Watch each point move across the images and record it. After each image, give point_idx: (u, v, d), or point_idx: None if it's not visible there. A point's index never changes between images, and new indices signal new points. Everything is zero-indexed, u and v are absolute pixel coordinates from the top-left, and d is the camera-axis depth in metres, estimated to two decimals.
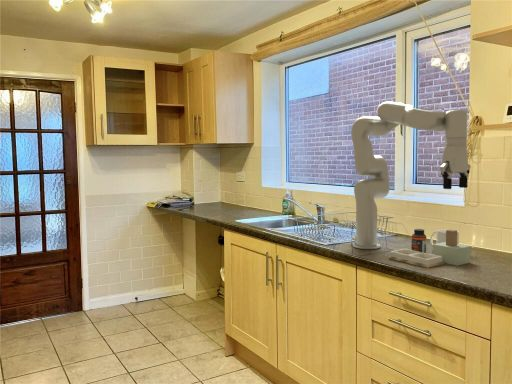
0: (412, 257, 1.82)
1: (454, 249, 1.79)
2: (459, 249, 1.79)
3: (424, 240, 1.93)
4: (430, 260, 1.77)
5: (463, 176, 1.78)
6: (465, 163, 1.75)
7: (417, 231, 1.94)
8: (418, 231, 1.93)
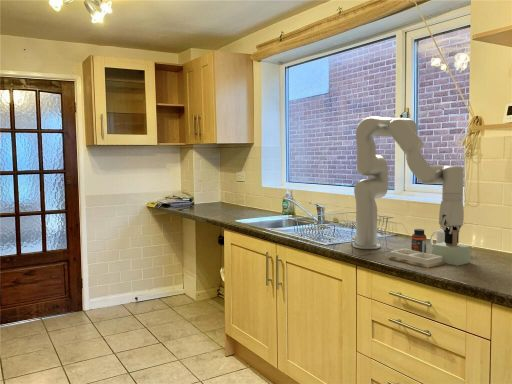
0: (412, 257, 1.82)
1: (454, 249, 1.79)
2: (459, 249, 1.79)
3: (424, 240, 1.93)
4: (430, 260, 1.77)
5: None
6: (461, 216, 1.83)
7: (417, 231, 1.94)
8: (418, 231, 1.93)
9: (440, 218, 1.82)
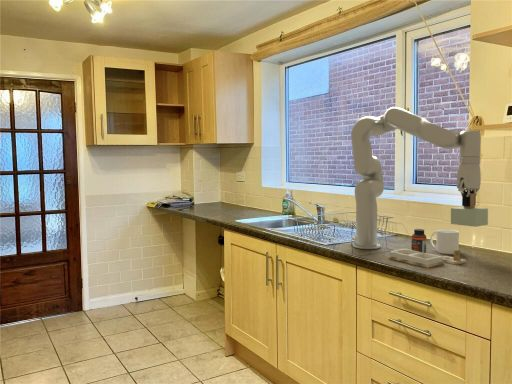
0: (412, 257, 1.82)
1: (472, 211, 1.83)
2: (477, 210, 1.83)
3: (424, 240, 1.93)
4: (430, 260, 1.77)
5: None
6: (478, 179, 1.88)
7: (417, 231, 1.94)
8: (418, 231, 1.93)
9: (458, 181, 1.87)
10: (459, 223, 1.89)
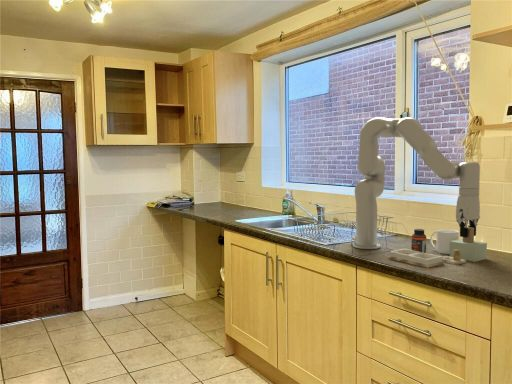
0: (412, 257, 1.82)
1: (471, 246, 1.85)
2: (476, 246, 1.84)
3: (424, 240, 1.93)
4: (430, 260, 1.77)
5: (472, 225, 1.91)
6: (477, 211, 1.89)
7: (417, 231, 1.94)
8: (418, 231, 1.93)
9: (457, 212, 1.88)
10: None
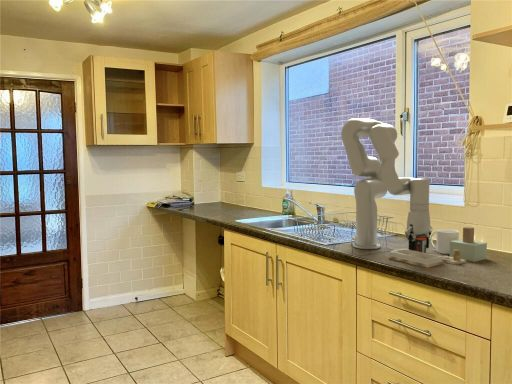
0: (412, 257, 1.82)
1: (471, 246, 1.85)
2: (476, 246, 1.84)
3: (424, 240, 1.93)
4: (430, 260, 1.77)
5: None
6: (427, 225, 1.94)
7: None
8: None
9: (407, 227, 1.93)
10: None
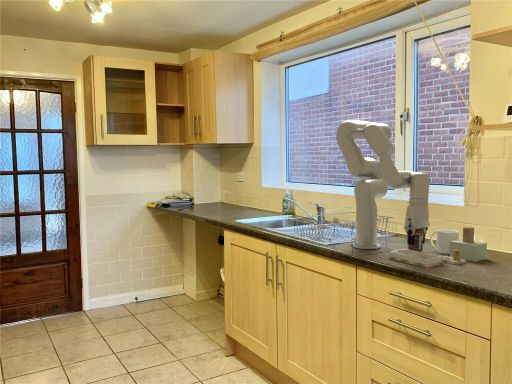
0: (412, 257, 1.82)
1: (471, 246, 1.85)
2: (476, 246, 1.84)
3: (421, 235, 1.94)
4: (430, 260, 1.77)
5: None
6: (426, 220, 1.95)
7: None
8: None
9: (406, 221, 1.94)
10: None
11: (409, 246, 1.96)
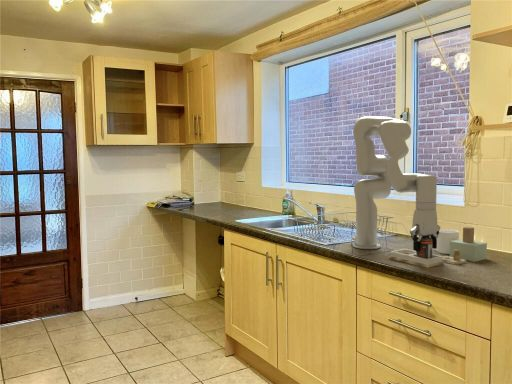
0: (412, 257, 1.82)
1: (471, 246, 1.85)
2: (476, 246, 1.84)
3: (430, 244, 1.80)
4: (430, 260, 1.77)
5: (433, 237, 1.84)
6: (434, 225, 1.81)
7: None
8: None
9: None
10: None
11: (417, 256, 1.82)
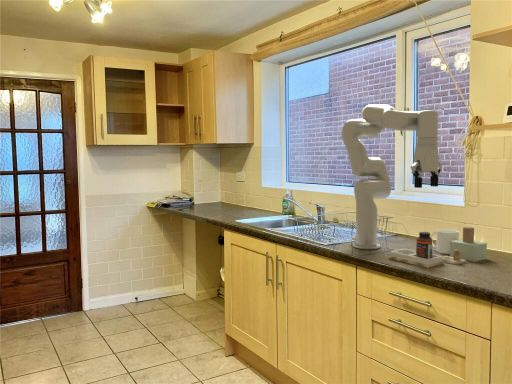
0: (412, 257, 1.82)
1: (471, 246, 1.85)
2: (476, 246, 1.84)
3: (430, 244, 1.80)
4: (430, 260, 1.77)
5: (434, 175, 1.82)
6: (436, 162, 1.79)
7: (422, 234, 1.80)
8: (423, 234, 1.80)
9: None
10: None
11: (417, 256, 1.82)
